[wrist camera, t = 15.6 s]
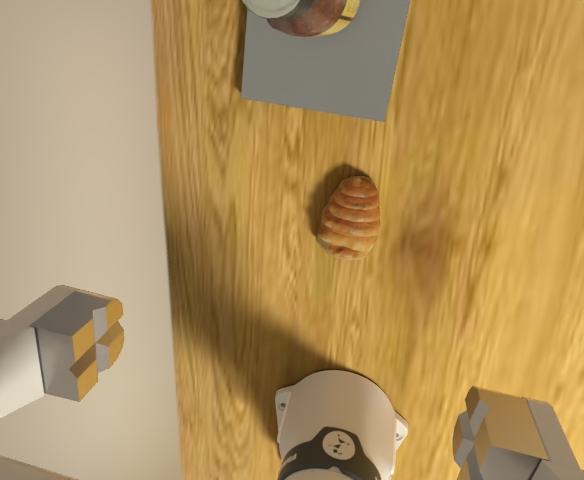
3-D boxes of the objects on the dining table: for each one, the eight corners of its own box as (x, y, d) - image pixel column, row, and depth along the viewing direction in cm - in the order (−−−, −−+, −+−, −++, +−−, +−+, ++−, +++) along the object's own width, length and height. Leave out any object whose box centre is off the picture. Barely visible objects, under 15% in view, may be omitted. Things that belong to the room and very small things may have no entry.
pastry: (332, 166, 48) (328, 176, 45) (393, 180, 47) (393, 191, 44) (316, 241, 52) (310, 255, 49) (371, 255, 51) (370, 270, 48)
